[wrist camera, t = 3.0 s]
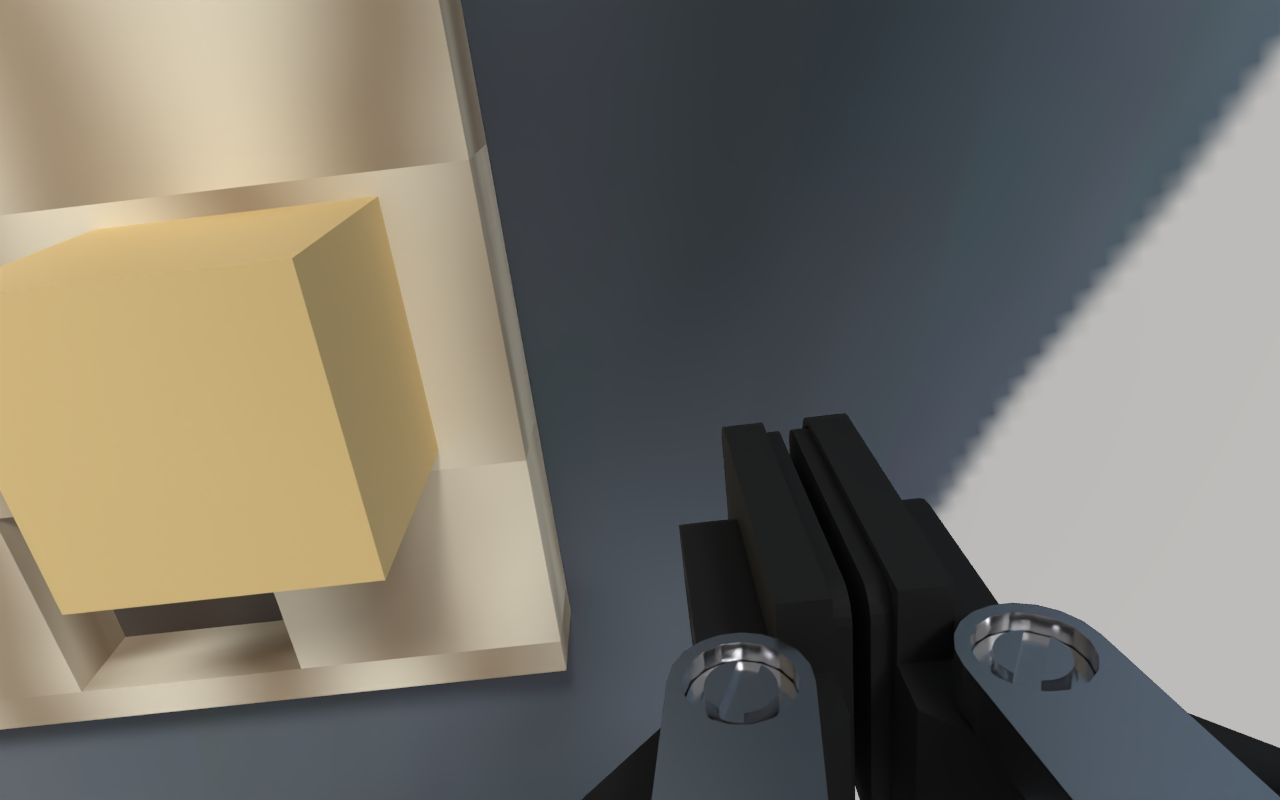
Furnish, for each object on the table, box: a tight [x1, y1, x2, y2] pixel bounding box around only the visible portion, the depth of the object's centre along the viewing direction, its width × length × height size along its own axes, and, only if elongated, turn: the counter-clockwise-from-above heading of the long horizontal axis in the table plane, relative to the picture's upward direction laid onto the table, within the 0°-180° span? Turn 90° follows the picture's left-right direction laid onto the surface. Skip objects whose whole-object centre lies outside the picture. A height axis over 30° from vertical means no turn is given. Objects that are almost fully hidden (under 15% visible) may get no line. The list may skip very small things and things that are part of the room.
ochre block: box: [0, 196, 439, 615], centre depth 16 cm, size 6×6×5 cm
